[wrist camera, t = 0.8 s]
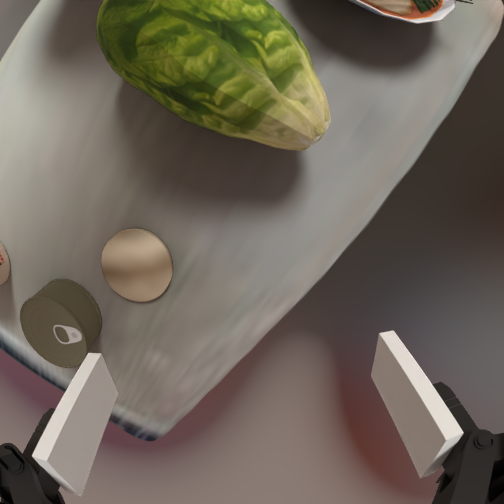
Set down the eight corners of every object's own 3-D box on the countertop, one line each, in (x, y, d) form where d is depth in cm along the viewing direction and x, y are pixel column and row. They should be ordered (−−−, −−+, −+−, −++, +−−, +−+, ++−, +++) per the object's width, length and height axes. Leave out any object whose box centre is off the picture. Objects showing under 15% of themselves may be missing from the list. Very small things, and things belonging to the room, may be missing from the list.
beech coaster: (93, 241, 38) (90, 244, 37) (156, 218, 37) (154, 220, 36) (122, 304, 41) (119, 308, 40) (184, 287, 40) (182, 291, 39)
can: (32, 279, 39) (9, 298, 33) (90, 274, 39) (68, 295, 33) (56, 342, 43) (39, 365, 37) (112, 343, 43) (98, 369, 37)
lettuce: (265, 185, 36) (283, 211, 22) (105, 64, 30) (40, 30, 15) (343, 98, 33) (404, 74, 18) (182, -17, 27) (157, -83, 12)
